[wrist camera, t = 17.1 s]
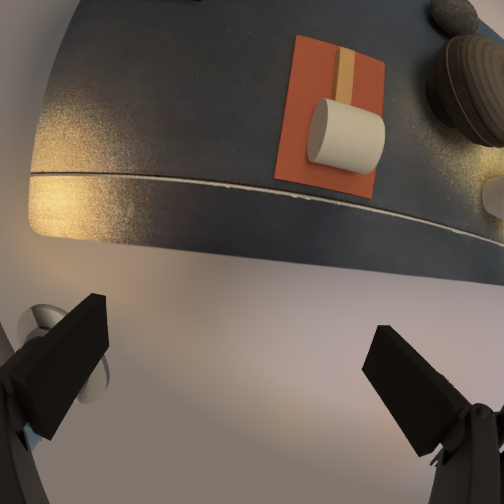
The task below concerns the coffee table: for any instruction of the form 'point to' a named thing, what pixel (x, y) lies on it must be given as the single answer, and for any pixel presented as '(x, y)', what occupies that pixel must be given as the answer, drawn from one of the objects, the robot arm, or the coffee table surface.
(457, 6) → the decorative ball
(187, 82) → the coffee table surface
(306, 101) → the mat
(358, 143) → the mallet
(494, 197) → the cup
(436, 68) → the pot
